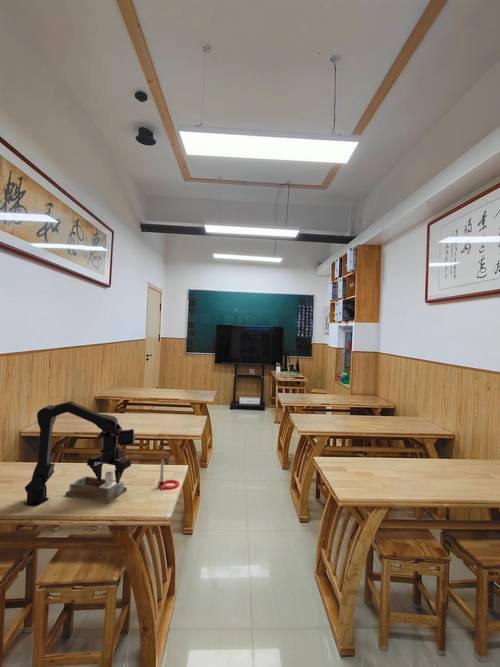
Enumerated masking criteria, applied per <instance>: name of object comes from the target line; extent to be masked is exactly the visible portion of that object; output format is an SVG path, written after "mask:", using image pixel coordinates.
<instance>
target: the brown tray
mask: <svg viewBox="0 0 500 667" xmlns="http://www.w3.org/2000/svg"><path fill="white" fill-rule="evenodd" d="M113 482H116V480H113ZM104 483H105V478H101V480H100V481H99V480H98V479H97V477H92V476H86V475H84V476H82V477H80V478H79V479H76V480H75V481H73V482H70V483H69V490H68V491H65V497H69V498H74V499H81V500H85V501H90V502H96V503H102V504H108V505H109V504H111V502H113V501H115V500H116V499H118V498H119V497H120V496H122V495H124V493H126V492H127V491H128V487H126V486H124V485H125V484H124V482H123V481H119V483H118V484H117V485H115V486H114V487H112V488H111V489H103V488H99V486H101V485H103V484H104Z"/></svg>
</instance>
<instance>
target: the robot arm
mask: <svg viewBox="0 0 500 667" xmlns="http://www.w3.org/2000/svg"><path fill="white" fill-rule="evenodd" d="M65 413H69V414H72V415H73V416H76V417H78V418H80V419H83V420H85V421H87V422H90V423H93V424H94V425H95V426H96V427H97V428H99V429H100V430H101V431H100V433H98V434H97V438H102V439H101V440H102V442H101V443H102V448H101V449H100V451H99V452H100V453H101V455H99V454H95V455H93V456H91V457H89V458H88V459H87V460H86V466H89V468H90V469H91V470H92V471H93V473H94V474H95V475H94V476H96V477H95V478H97V479H98V480H99V481H100V480H101V479H102V475H103V474H102V472H103V471H102V470H103V465H109V466H114V468H115V469H114V475H115V476H114V477H115V481H116V483H117V484H118V483H119V482H121V481H120V480H121V479H122V476H123V474H124V472H125V470H126V469H128V468H129V467H131V466H132V460H131V459H128V458H124V457H125V453H126V450H125V449H124V450H123V449H120V448H119V446H120V447H122V446H123V447H124V446H127V447H128V446H134V445H135V440H136V435H135V429H134V428H133V429H132V428H131V429H123V428H122V426H121V425H120V424H119V423H118V418H117V417H116V416H113V415H110V414H105V413H99V412H97V411H95V410H92V409H89V408H87V407H86V406H82V405H80V404H78V403H75V401H72V400H68V401H66V402H63V403H59V404H56V405H53V404H49V405H46V406H44V407H43V408H41V409H40V410H39V411H38V412H37V413H36V420H37V424H38V427H39V438H38V439H39V440H38V451H37V460H36V465H35V467H34V470H33V471H32V472H33V473H32V477H31V480H30V481H29V482H28V483H27V484H26V486H24V490H25V492H26V501H25V502H23V505H25V506H26V505H27V506H31V507H37V506H39V505H41V504H43V503H45V502H46V501H49V499H50V498H49V497H47V495H48V494H47V491H48V490H47V489H48V488H47V484H46V483H48V481H49V480H50V478H52V476H53V474H54V473H55V470H54V468H55V465H56V464H55V463H51V450H52V438H53V428H54V424H55V422H56V420H57V417H58V416H60V415H62V414H65ZM117 444H118V445H119V446H117ZM120 458H121V459H120Z"/></svg>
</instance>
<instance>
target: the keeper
mask: <svg viewBox="0 0 500 667" xmlns="http://www.w3.org/2000/svg"><path fill="white" fill-rule="evenodd" d="M113 476H114V472H113V471H106V472H105V475H104V479H105V483H104V484H103V485H101V486H99V488H103V489H111V488H112V487H114V486H115V485H117V483H116V482H113V481H114V480H113Z"/></svg>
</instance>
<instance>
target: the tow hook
mask: <svg viewBox="0 0 500 667" xmlns="http://www.w3.org/2000/svg"><path fill="white" fill-rule="evenodd" d="M164 466H165V465H164V458H161V464H160V475H159V481H158V482H157V484H158V486H159V489H160V490H161V491H163V490H173V489H177V488H178V487H179V486H180V482H179V481H178V480H176V479H166V480H164ZM168 483H173V484H174V485H166V484H168Z"/></svg>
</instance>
